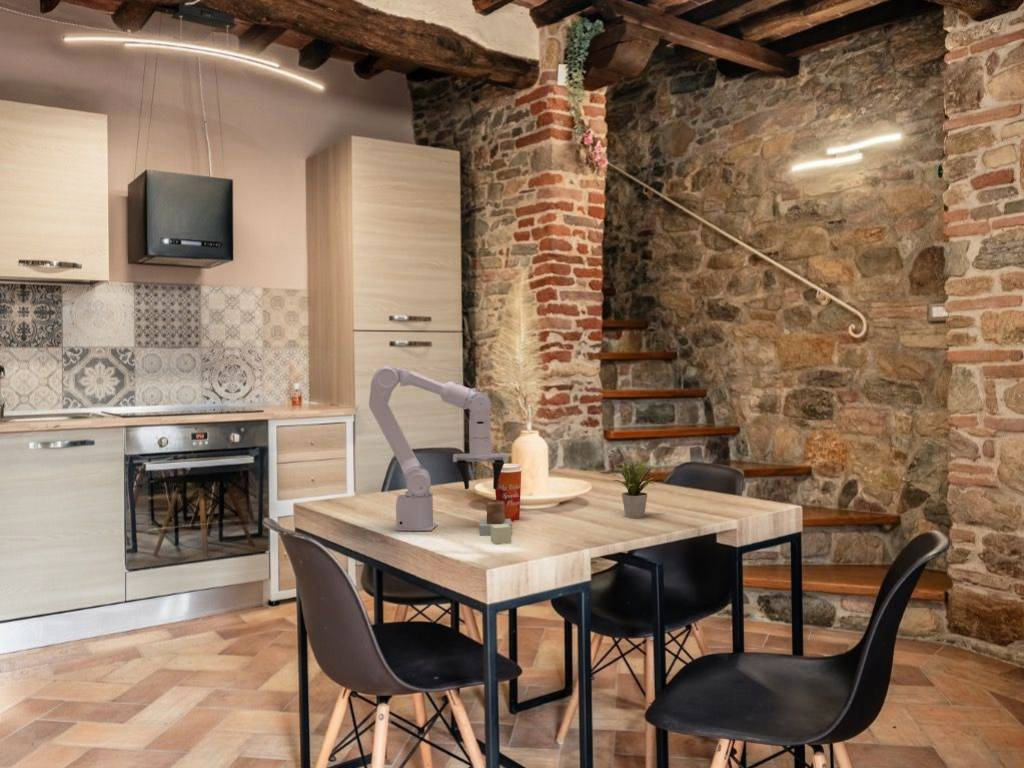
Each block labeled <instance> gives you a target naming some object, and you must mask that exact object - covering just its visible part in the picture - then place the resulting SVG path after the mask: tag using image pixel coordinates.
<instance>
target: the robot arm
mask: <svg viewBox="0 0 1024 768" xmlns="http://www.w3.org/2000/svg"><path fill="white" fill-rule="evenodd" d="M399 383H400V385H399ZM398 385H399V387H407V386H413V387H416V388H419V389H423V390H425V391H428V392H431V393H434V394H437V395H439V397H440V400H441V401H442V402H443V403H447V404H448V405H451V406H454V407H457V408H459V409H463V410H467V409H469V421H468V433H469V434H468V438H469V444H468V445H469V453H454V454H452V462H453V463H456V467H457V469H458V471H459V473H460V475H461V478H462V481H463V485H464V490H469V489H470V480H469V470H470V469H469V467H470V466H469V464H470V462H492V473H493V474H492V475H493V482H492V483H493V485H492V486H493V490H495V489H497V485H498V479H499V476H500V473H501V470H502V467H503V465H504V464H505V463H507V462H508V461H509V454H508V453H492V444H491V443H492V436H491V435H492V434H491V433H492V432H491V431H492V428H491V424H492V423H491V420H490V418H491V414H490V410H491V408H492V403H491V399H490V397H489V396H488V395H487V394H485V393H483V392H481V391H477V389H476V388H474V387H472V388H469V387H466V386H464V385H461V384H460V382H459V381H457V380H454V382H453V381H452V380H451V381H447V382H445V383H442V382H439V381H437V380H435V379H432V378H429V377H427V376H425V375H422V374H421V373H418V372H415V371H412V370H408V369H404V368H399V367H397V368H396V367H394V366H392V365H383V366H381V367H379V368H377V369H376V371H375V373H374V374H373V377H372V378H371V381H370V390H369V391H370V393H369V399H368V406H369V409H370V411H371V412H372V415H373V416H374V419H375V420H376V422H377V424H378V426H379V428H380V430H381V432H382V433H383V436H384V437H385V440H386V441H387V443H388V445H389V447H390V448H391V451H392V452H393V454H394V456H395V458H396V460H397V462H398V463H399V466H400V468H401V470H402V472H403V473H402V474H403V475H404V477H405V479H406V483H405V484H406V488H407V491H405V492H404V493H405V494H399V495H398V496H397V498H396V501H395V502H396V504H395V518H396V520H395V521H396V522H395V523H396V526H395V527H396V528H395V531H409V532H410V531H411V532H412V531H413V532H414V531H417V532H418V531H423V532H425V531H426V532H427V531H428V532H430V531H433V529H435V528H436V527H437V526H438V522H434V504H433V503H434V502H433V500H434V498H433V495H434V494H433V491H431V485H432V483H431V482H432V481H431V475H430V473H429V471H428V470H427V469H426V468H424V467H423V466H422V465H421V464H420V461H419V459H418V458H417V457H416V455H415V453H414V450H413V449H412V447H411V445H410V444H409V441H408V440H407V438H406V436H405V434H404V432H403V430H402V428H401V426H400V425H399V422H398V421H397V419H396V417H395V415H394V413H393V411H392V409H391V407H390V406H389V402H390V400H391V396H392V393H393V391H394V390H395V389H396V387H397V386H398Z"/></svg>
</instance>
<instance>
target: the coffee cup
mask: <svg viewBox="0 0 1024 768" xmlns="http://www.w3.org/2000/svg"><path fill="white" fill-rule="evenodd" d="M522 471H524V470H523V468H522V465H521V464H519V463H504V465H503V467H502V470H501V473H500V476H499V479H498V485H497V489H494V492H495V502H505V519H511V522H515V521H514V520H516V521H518V519H519V520H520V514H521V513H520V512H521V491H522V490H521V489H522V487H521V486H522Z"/></svg>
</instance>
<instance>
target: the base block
mask: <svg viewBox="0 0 1024 768" xmlns="http://www.w3.org/2000/svg"><path fill="white" fill-rule="evenodd" d="M503 524H507V525H509V526H511V536H513V529H512V525H513V524H512V521H511V519H505V521H504V523H503ZM491 525H497V524H487V519H479V536H480V537H488V536H489V537H491Z"/></svg>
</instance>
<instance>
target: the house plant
mask: <svg viewBox="0 0 1024 768" xmlns="http://www.w3.org/2000/svg"><path fill="white" fill-rule="evenodd" d="M629 458H630V460H629V461H630V463H627V465H628V466H629V467H627V466H626V464H625V463H624V462H620V464H621V467H622V468H620V469H619V468H618V467H616V466H613V467H614V468H615V469H617V471H618V472H619V473H620V474H621V476H622V477H623V479H624V480H623V481H621V480H619V479H613V480H611V481H610V482H617V483H620V484H622V485H623V486H624V487H625V488H626V489H627V491H626V492H622V493H621V497H622V504H623V508H624V509H623V510H624V515H625V517H626V518H630V519H641V517H642V518H645V513H646V506H647V502H648V501H647V499H648V493H647V492H643V489H645V487H647V486H648V485H649V484H651V485H653V486H654V487H656V485H655V481H651V480H652V479H654V477H652V478H649V479H647V480H646V479H645V478H646V477H647V475H650V474H654V473H656V471H652V470H653V469H655V467H658V466H659V465H661V464H655V465H650V466H649V467H646V468H645V469H644V466H645V464H646V462H643V458H641V459H640V460H639V463H638V465H637V467H636V469H635V466H634V463H633V459H632V458H631V457H629ZM650 471H651V472H650Z"/></svg>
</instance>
